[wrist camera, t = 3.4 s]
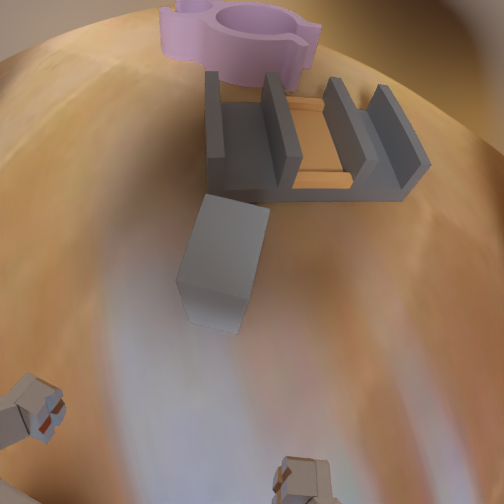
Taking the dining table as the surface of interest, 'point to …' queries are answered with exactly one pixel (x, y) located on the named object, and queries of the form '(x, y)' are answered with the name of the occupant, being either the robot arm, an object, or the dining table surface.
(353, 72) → the dining table surface
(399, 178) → the rack
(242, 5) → the clip
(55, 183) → the dining table surface
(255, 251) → the tall grey pillar block
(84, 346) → the dining table surface
